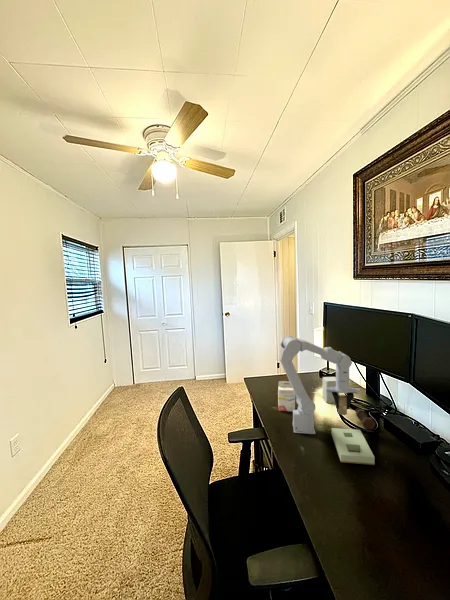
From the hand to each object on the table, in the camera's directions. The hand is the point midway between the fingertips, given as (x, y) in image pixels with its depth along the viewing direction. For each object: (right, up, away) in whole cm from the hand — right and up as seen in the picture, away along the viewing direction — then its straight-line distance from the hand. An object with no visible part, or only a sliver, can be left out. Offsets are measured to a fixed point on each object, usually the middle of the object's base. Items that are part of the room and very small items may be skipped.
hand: (342, 407), depth 138 cm
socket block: (-3, -11, -16) cm, 19 cm away
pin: (0, -2, 0) cm, 2 cm away
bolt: (+13, -9, +6) cm, 17 cm away
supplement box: (+5, -7, +30) cm, 31 cm away
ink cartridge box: (-22, -9, +21) cm, 31 cm away
